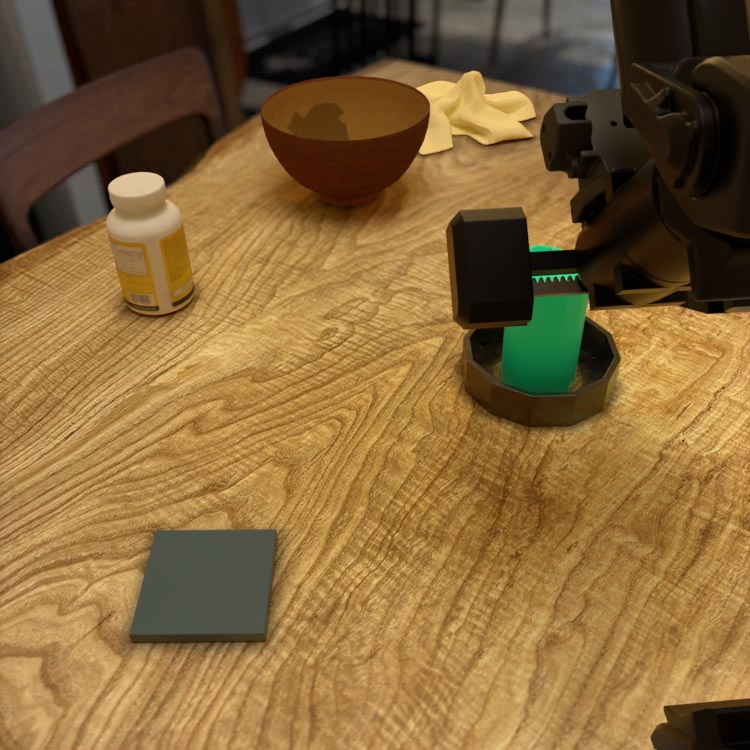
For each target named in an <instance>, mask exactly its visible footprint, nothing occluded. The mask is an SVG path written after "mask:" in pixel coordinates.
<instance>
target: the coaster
mask: <svg viewBox="0 0 750 750" xmlns="http://www.w3.org/2000/svg"><path fill="white" fill-rule="evenodd" d="M277 544H278V531H277V529H276V528H265V529H263V528H260V529H259V528H257V529H256V528H253V529H252V528H251V529H250V528H249V529H170V530H169V529H168V530H167V529H165V530H163V529H162V530H160V529H159V530H155V532H154V536H153V541H152V545H151V548H150V552H149V556H148V559H147V563H146V567H145V571H144V575H143V578H142V583H141V588H140V591H139V595H138V598H137V603H136V606H135V610H134V613H133V618H132V622H131V626H130V629H129V632H128V633H129V639H130V641H131V643H179V642H181V643H184V642H185V643H187V642H191V643H192V642H193V643H194V642H195V643H196V642H265V641H266V640H267V634H268V633H267V632H268V625H269V624H268V623H269V615H270V608H271V607H270V606H271V597H272V588H273V581H274V570H275V562H276V554H277V553H276V552H277V546H278V545H277Z"/></svg>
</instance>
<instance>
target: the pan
mask: <svg viewBox="0 0 750 750" xmlns="http://www.w3.org/2000/svg"><path fill="white" fill-rule="evenodd" d="M504 328H505V327H498V328H483V329H467V331H466V333H465V334H464V335H463V338H462V351H461V371H462V378H463V384H464V385H463V386H464V390H465V391H466V392H467V393H468V394H469V396H471V397H472V398H473V399H474V400H475V401H476V402H477V403H478V404H479V405H480V406H481V407H482V408H484V409H485V410H486V411H487V412H488V413H489V414H492V415H494V416H497V417H500V418H503V419H506V420H509V421H512V422H514V423H518V424H521V425H523V426H527V427H554V426H556V427H557V426H558V427H559V426H561V427H562V426H573V425H574V424H575V425H576V424H577V423H579V422H581V421H583V420H586V419H587V418H590V417H592V416H594V415H596V414H599V413H601V412H602V411H603V410H604V409H605V407H606V406H607V403H608V401H609V399H610V397H611V396H612V394H613V392H614V390H615V388H616V384H617V379H618V375H619V370H620V365H621V360H622V357H621V354H620V352H619V349H618V347H617V344H616V342H615V339H614V337H613V334H612V333H611V332H610V331H609V330H607V329H606V328H605V327H603V326H602V325H600V324H599V323H598V322H596V321H594V320H593V319H592V318H590V317H589V316H588V315H586V316H585V322H584V328H583V333H582V339H581V345H580V351H579V357H578V363H577V371H578V374H579V377H580V380H581V384H582V385H581V386H580V387H579V388H577V389H575V390H573V391H568V392H531V391H527V390H524V389H521V388H518V387H515V386H512V385H509V384H506V383H503V382H502V381H499V380H496V377H495V371H494V367H493V366H494V365H495V364H497V363H498V362H500V361H501V358H502V348H503V338H504Z"/></svg>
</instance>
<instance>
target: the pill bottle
mask: <svg viewBox="0 0 750 750" xmlns="http://www.w3.org/2000/svg"><path fill="white" fill-rule="evenodd" d="M107 190H108V196H109V200H110V203H111V205H112V206H113V208H112V209H111V210H110V212H109V213H108V215H107V217H106V222H105V227H106V228H105V229H106V232H107V237H108V241H109V244H110V248H111V252H112V257H113V261H114V264H115V268H116V273H117V277H118V281H119V284H120V288H121V292H122V295H123V296H122V297H123V299H124V302H125V304H126V306H127V307H128V308H129V309H131V311H134V312H135V313H138V314H141V315H148V316H159V315H160V316H161V315H165V314H170V313H174V312H176V311H178V310H180V309H182V308H184V307H186V306H187V305H188V304H189V303H190V302H191V300H192V299H193V297H194V295H195V291H196V290H195V289H196V288H195V280H194V275H193V269H192V264H191V259H190V253H189V249H188V247H189V246H188V242H187V237H186V232H185V227H184V221H183V220H184V219H183V216H182V213H181V210H180V209H179V207H178V206H177V205H176V204H175V203H174V202H172V201H170V200H168V199H167V197H168V194H167V193H168V192H167V187H166V183H165V179H164V178H163V177H162V176H161V175H159V174H158V173H153V172H149V171H148V172H147V171H138V172H131V173H126V174H122V175H120V176H118V177H116V178H115V179H113V180H112V181H111V182H110V183H109V184H108V186H107Z"/></svg>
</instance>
